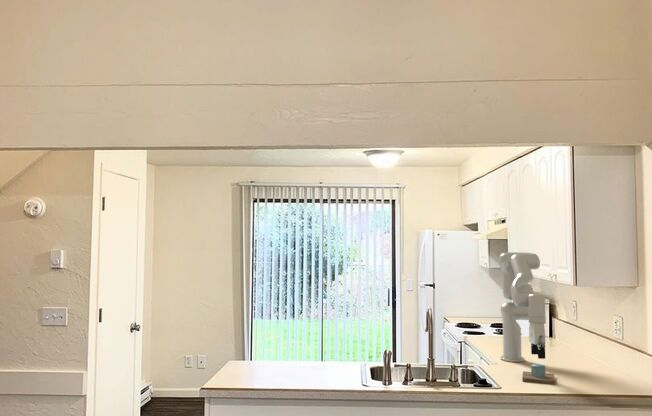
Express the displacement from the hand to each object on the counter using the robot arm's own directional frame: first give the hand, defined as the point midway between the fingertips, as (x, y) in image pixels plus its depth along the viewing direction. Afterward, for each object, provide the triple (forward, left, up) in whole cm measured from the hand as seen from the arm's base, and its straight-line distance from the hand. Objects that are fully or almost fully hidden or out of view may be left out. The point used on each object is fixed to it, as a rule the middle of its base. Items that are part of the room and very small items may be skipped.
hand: (538, 356), depth 242 cm
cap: (0, 0, -9) cm, 9 cm away
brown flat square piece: (0, 0, -11) cm, 11 cm away
